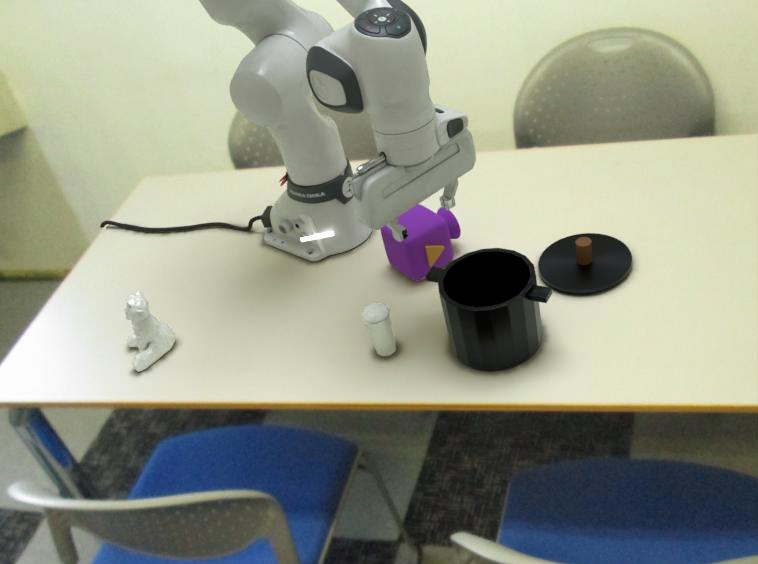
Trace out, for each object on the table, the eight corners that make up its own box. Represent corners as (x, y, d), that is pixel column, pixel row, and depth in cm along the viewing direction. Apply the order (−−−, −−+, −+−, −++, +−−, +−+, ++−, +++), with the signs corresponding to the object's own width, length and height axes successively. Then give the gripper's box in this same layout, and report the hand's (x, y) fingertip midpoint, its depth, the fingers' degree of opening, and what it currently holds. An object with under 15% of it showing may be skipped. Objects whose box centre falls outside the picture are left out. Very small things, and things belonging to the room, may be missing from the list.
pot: (536, 384, 121) (528, 321, 112) (421, 356, 129) (405, 297, 120) (571, 321, 128) (567, 258, 120) (460, 299, 137) (449, 239, 128)
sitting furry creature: (129, 343, 146) (97, 292, 137) (174, 325, 147) (146, 273, 139) (136, 374, 140) (104, 323, 131) (183, 355, 141) (154, 302, 132)
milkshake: (402, 359, 130) (388, 312, 122) (370, 359, 131) (355, 313, 124) (407, 340, 133) (394, 293, 125) (376, 340, 134) (362, 294, 127)
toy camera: (474, 247, 147) (466, 200, 140) (425, 289, 141) (414, 242, 134) (431, 231, 153) (421, 185, 145) (382, 271, 147) (369, 225, 140)
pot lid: (614, 303, 130) (613, 278, 126) (524, 287, 136) (521, 262, 133) (644, 245, 138) (644, 220, 134) (558, 233, 145) (556, 208, 141)
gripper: (362, 180, 103) (385, 266, 113) (476, 110, 111) (488, 196, 121) (333, 166, 107) (358, 250, 117) (446, 99, 114) (460, 184, 124)
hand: (425, 222), depth 119 cm, fingers open, 8 cm apart
